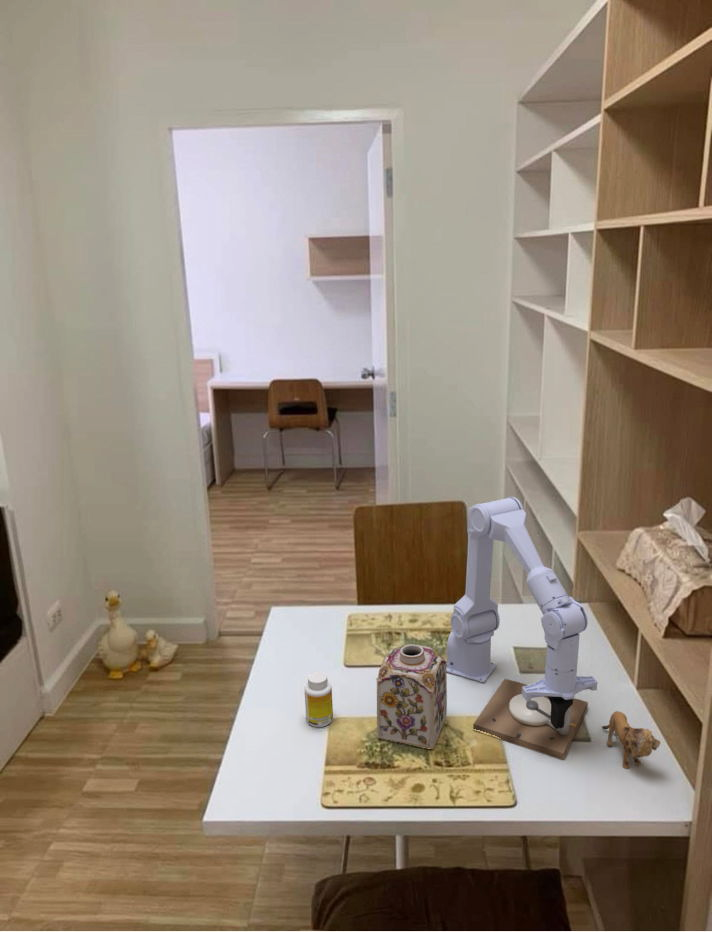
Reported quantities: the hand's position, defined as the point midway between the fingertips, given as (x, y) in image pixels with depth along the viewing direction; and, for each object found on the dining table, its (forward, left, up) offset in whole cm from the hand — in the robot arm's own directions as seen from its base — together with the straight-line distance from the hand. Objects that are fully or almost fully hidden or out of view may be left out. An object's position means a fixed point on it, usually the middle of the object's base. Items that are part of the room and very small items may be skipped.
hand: (557, 725), depth 139 cm
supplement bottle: (-44, -17, -4) cm, 48 cm away
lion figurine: (+13, +3, -4) cm, 14 cm away
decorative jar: (-26, -10, -4) cm, 28 cm away
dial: (-4, +3, -2) cm, 6 cm away
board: (-6, +4, -4) cm, 9 cm away
